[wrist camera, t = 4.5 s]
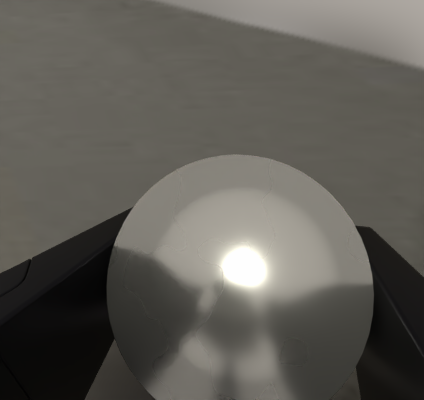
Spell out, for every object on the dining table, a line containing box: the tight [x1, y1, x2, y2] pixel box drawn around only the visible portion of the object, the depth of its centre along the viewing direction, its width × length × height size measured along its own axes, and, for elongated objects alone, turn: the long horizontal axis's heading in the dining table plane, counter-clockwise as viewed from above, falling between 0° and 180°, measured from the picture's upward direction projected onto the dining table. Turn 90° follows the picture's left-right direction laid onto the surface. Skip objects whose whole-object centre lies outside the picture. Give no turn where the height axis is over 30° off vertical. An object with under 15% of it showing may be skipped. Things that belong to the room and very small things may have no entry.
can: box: [107, 155, 374, 400], centre depth 10 cm, size 5×5×9 cm
